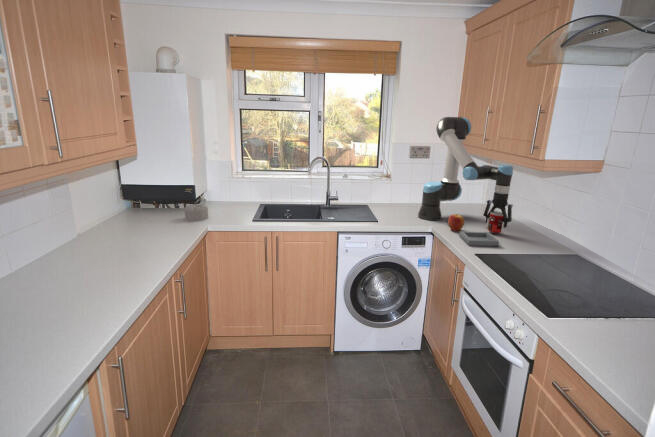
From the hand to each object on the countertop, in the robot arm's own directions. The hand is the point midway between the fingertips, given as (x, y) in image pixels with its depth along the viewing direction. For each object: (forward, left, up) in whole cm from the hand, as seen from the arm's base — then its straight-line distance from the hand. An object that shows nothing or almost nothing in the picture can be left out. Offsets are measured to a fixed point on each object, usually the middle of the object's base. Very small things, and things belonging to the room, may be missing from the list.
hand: (494, 230), depth 218 cm
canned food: (0, 0, -1) cm, 1 cm away
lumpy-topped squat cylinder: (-7, -178, -2) cm, 178 cm away
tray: (+15, -15, -2) cm, 21 cm away
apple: (-4, -22, -2) cm, 22 cm away
